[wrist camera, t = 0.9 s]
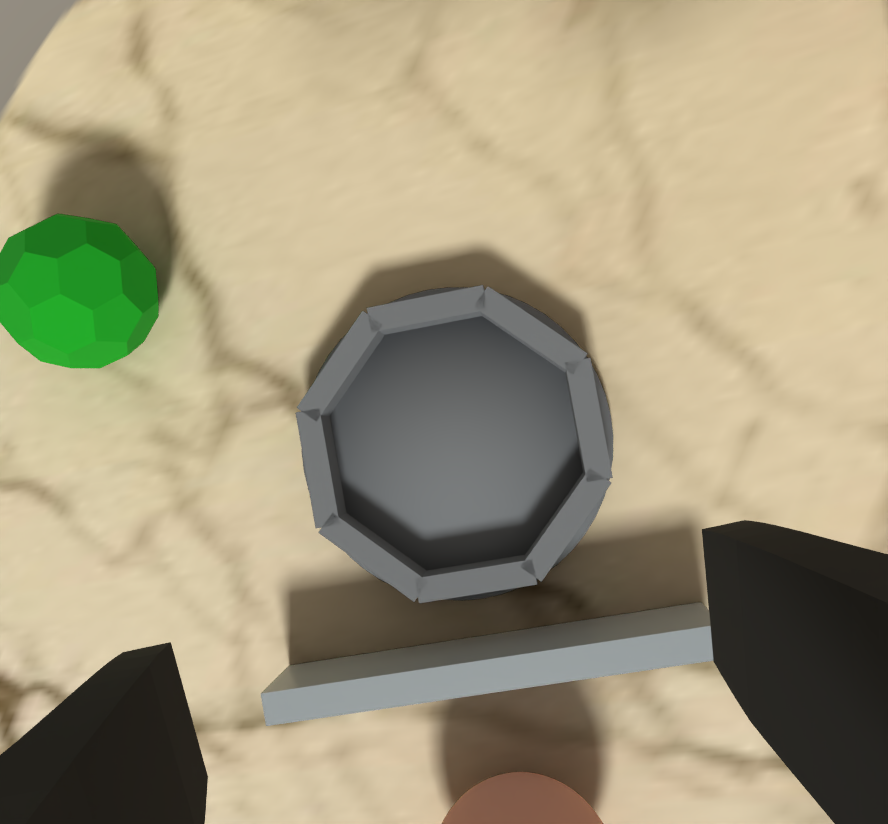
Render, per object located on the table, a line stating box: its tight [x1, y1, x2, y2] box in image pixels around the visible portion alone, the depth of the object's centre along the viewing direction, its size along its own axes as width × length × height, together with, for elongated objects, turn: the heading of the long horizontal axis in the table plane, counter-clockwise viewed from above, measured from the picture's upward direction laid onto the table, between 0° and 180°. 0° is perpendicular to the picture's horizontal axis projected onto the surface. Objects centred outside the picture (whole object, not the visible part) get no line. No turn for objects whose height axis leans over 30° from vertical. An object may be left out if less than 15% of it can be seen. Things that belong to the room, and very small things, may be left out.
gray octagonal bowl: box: [296, 285, 613, 603], centre depth 27 cm, size 10×10×2 cm
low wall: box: [261, 602, 713, 726], centre depth 27 cm, size 1×14×3 cm, turn 100°
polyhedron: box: [0, 214, 158, 368], centre depth 27 cm, size 5×5×5 cm
